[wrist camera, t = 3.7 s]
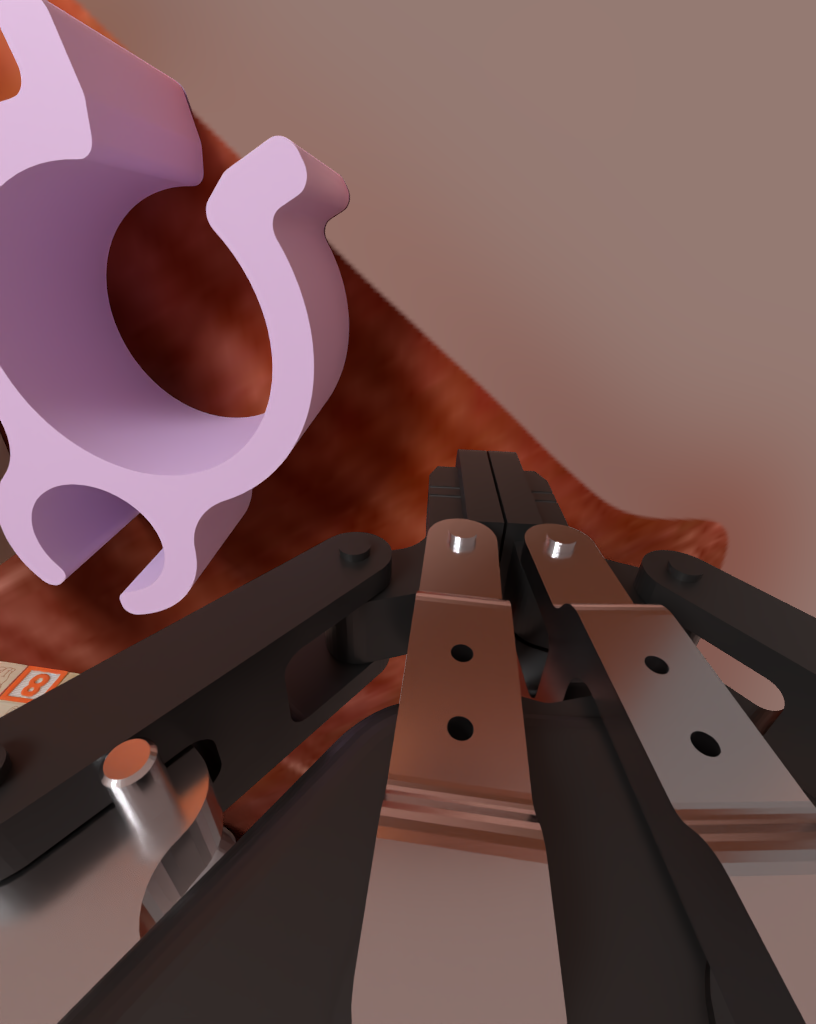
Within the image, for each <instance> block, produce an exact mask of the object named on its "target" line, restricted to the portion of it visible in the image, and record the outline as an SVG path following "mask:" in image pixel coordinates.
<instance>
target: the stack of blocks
mask: <svg viewBox="0 0 816 1024" xmlns="http://www.w3.org/2000/svg"><path fill="white" fill-rule="evenodd" d="M77 675H79V674H77V673H70V672H67V671H61V670H55V669H48V668H41V667H35V666H27V665H21V664H15V663H8V662H1V661H0V717H2V716H4V715H6V714H8V713H9V712H11V711H13V710H15V709H17V708H19V707H20V706H22V705H24V704H26V703H28V702H30V701H31V700H33V699H35V698H37V697H39V696H41V695H42V694H44V693H46V692H48V691H50V690H52V689H54V688H55V687H57V686H59V685H61V684H63V683H65V682H66V681H68V680H70V679H72V678H74V677H76V676H77Z"/></svg>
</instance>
